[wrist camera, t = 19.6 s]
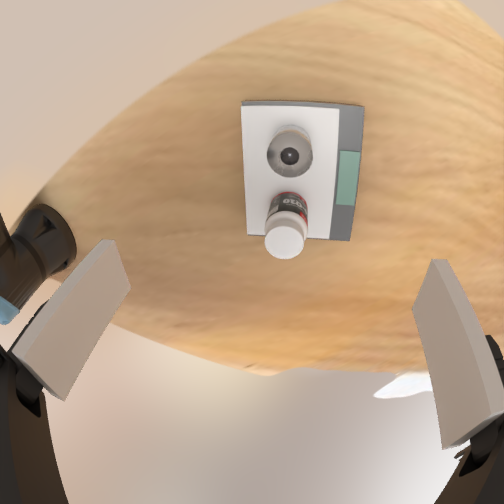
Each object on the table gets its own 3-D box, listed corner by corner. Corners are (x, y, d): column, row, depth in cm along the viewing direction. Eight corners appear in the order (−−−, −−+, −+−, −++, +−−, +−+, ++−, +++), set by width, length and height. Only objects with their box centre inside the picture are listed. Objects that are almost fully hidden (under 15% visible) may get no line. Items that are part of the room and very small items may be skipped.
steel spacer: (272, 123, 30) (266, 133, 25) (311, 125, 29) (313, 135, 24) (272, 159, 32) (266, 176, 27) (310, 161, 32) (311, 179, 27)
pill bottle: (315, 204, 35) (318, 240, 28) (292, 230, 37) (289, 269, 30) (284, 182, 34) (279, 214, 27) (262, 210, 36) (252, 246, 30)
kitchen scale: (250, 227, 41) (247, 237, 39) (244, 100, 31) (240, 102, 29) (347, 233, 39) (350, 243, 37) (360, 105, 29) (365, 107, 27)
